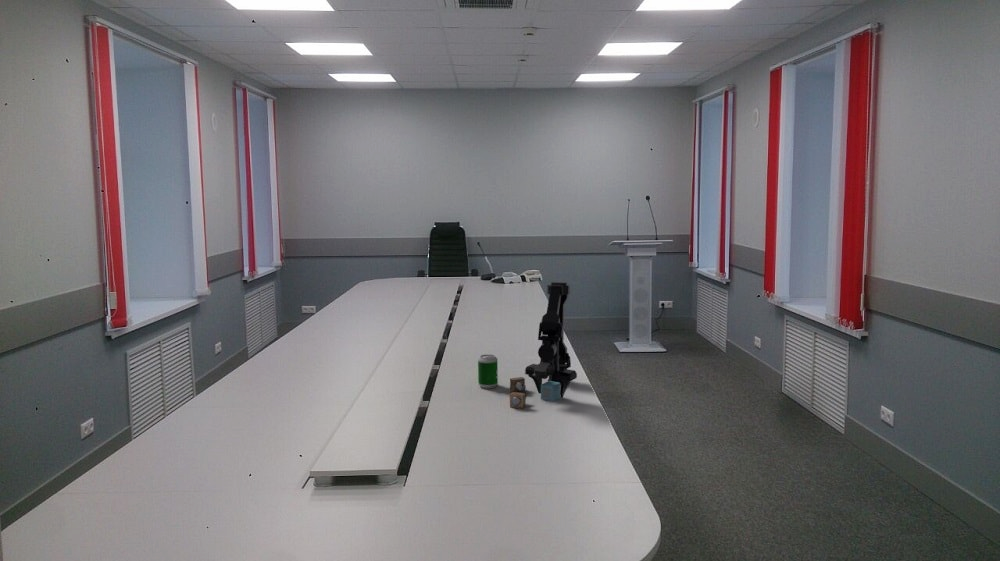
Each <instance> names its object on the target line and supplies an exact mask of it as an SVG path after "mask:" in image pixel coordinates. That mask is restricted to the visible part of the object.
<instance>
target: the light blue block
mask: <svg viewBox="0 0 1000 561" xmlns="http://www.w3.org/2000/svg"><path fill="white" fill-rule="evenodd" d="M560 390H561V384H560V383H559V382H553V381H548V380H547V381H546V382H544V383H542V385H541V393H540V400H541V401H542V400H543V401H548V402H554V401H556V400H558V399H560V398H561V395H560Z"/></svg>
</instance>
